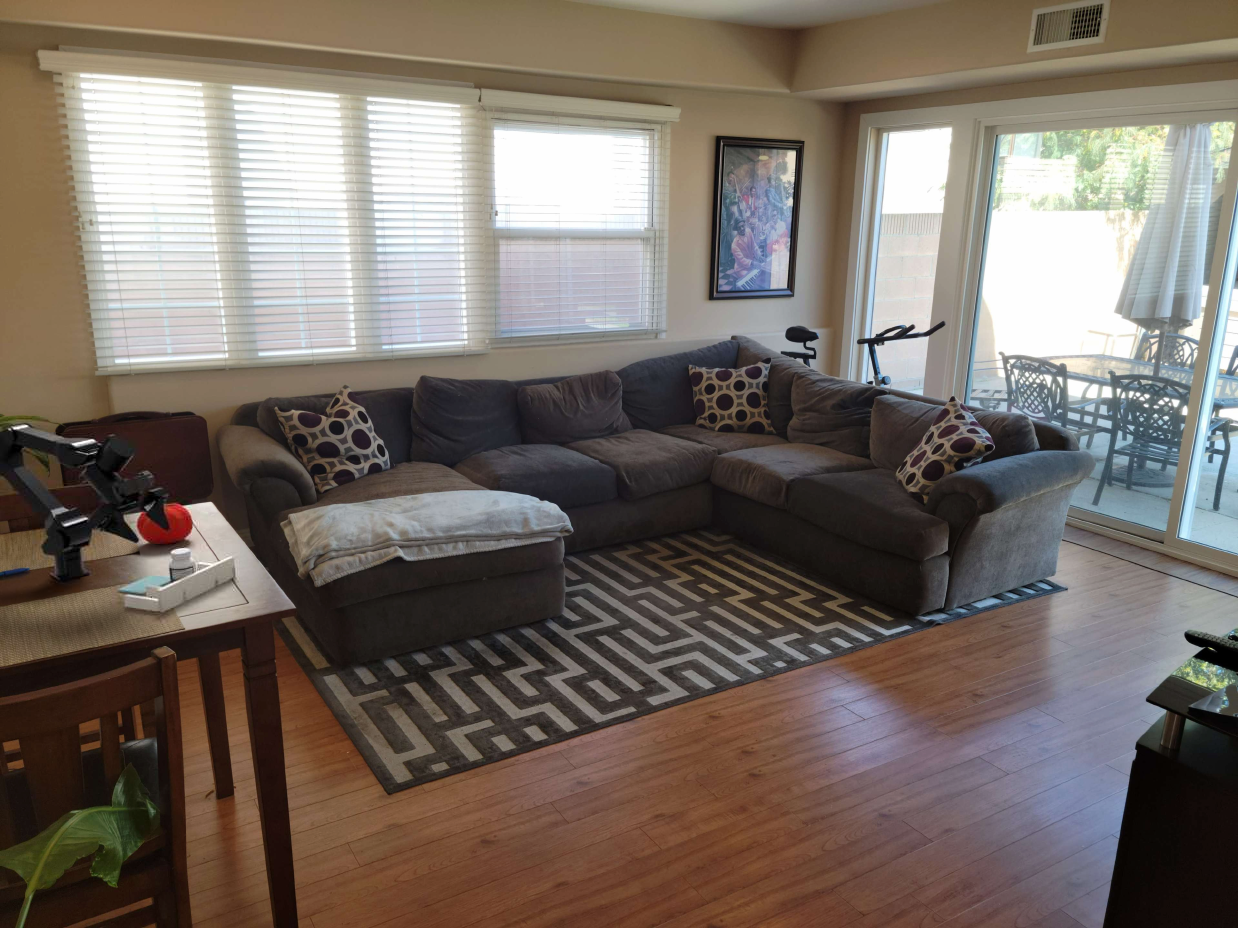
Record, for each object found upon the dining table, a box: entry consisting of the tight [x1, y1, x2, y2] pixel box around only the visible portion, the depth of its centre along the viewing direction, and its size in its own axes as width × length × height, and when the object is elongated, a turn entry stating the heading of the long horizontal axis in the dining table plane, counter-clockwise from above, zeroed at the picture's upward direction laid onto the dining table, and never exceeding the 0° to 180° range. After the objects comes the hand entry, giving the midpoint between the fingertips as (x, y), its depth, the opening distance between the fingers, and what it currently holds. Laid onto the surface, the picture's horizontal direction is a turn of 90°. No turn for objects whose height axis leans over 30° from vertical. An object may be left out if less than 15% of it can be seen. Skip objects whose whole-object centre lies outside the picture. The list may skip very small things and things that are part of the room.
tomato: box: [136, 502, 194, 545], centre depth 237 cm, size 13×12×11 cm
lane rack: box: [123, 556, 236, 613], centre depth 204 cm, size 10×23×5 cm, turn 164°
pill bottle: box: [168, 547, 197, 584], centre depth 204 cm, size 5×5×10 cm
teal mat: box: [117, 574, 171, 596], centre depth 208 cm, size 7×10×1 cm
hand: (153, 535), depth 204 cm, fingers open, 9 cm apart
